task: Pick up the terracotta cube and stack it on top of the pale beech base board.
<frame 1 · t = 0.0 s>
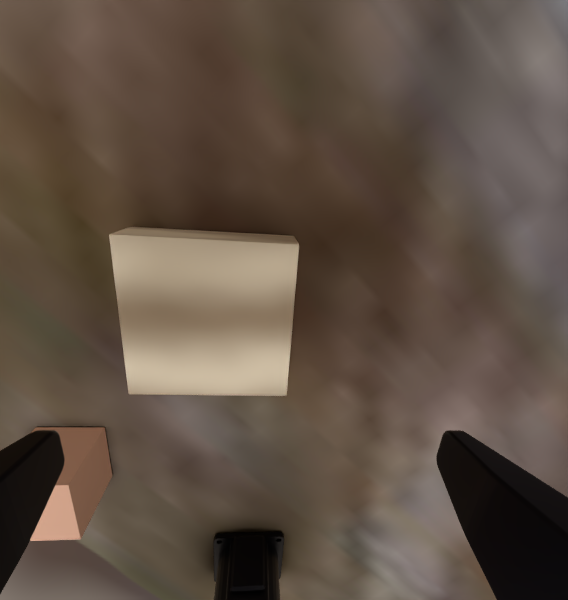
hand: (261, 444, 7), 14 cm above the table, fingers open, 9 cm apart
base: (214, 305, 22), on the table
cube: (75, 452, 25), on the table
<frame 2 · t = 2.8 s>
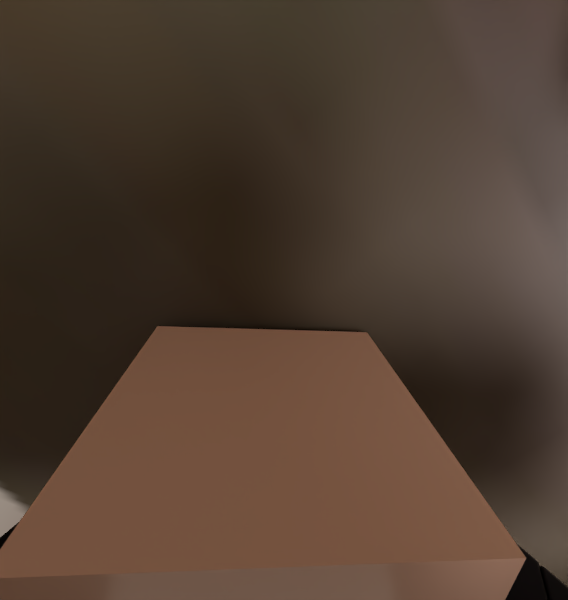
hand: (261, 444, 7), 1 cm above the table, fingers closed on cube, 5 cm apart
cube: (260, 414, 8), on the table, touching gripper
when the fingers open (5 cm above the table, at t = 6.2 s): cube drops 1 cm, resting on base.
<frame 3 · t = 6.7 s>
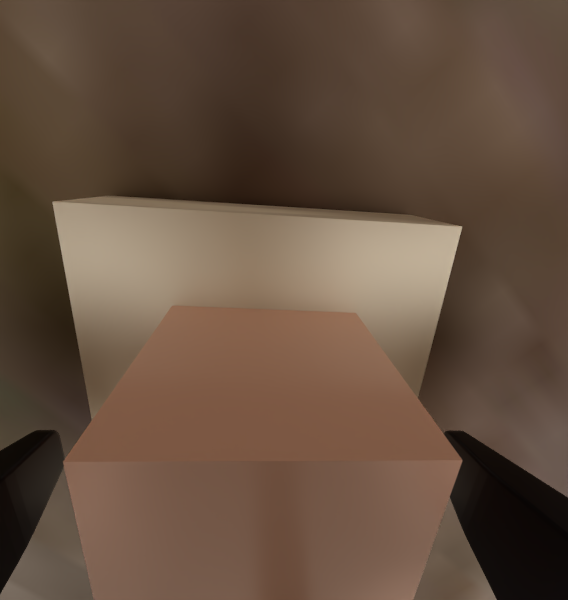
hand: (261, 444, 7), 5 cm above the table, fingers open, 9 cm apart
base: (260, 339, 12), on the table
cube: (262, 386, 10), point 3 cm above the table, touching base
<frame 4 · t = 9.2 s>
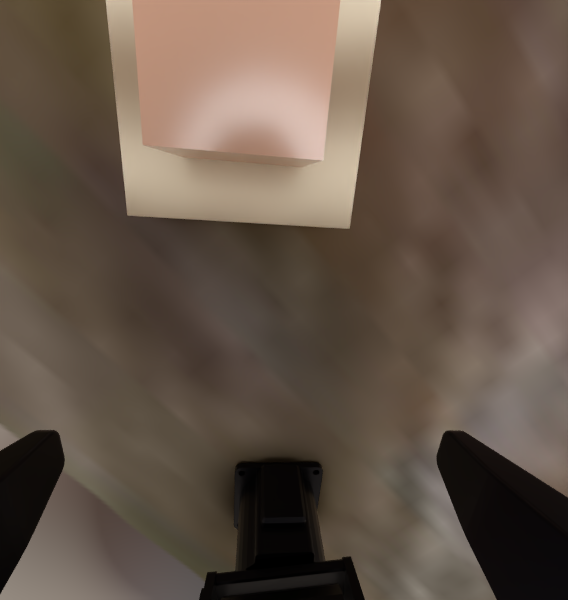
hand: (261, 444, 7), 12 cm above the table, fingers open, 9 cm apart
base: (247, 110, 15), on the table
cube: (245, 94, 13), point 3 cm above the table, touching base
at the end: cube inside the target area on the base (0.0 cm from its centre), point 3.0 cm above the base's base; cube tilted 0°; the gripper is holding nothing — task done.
